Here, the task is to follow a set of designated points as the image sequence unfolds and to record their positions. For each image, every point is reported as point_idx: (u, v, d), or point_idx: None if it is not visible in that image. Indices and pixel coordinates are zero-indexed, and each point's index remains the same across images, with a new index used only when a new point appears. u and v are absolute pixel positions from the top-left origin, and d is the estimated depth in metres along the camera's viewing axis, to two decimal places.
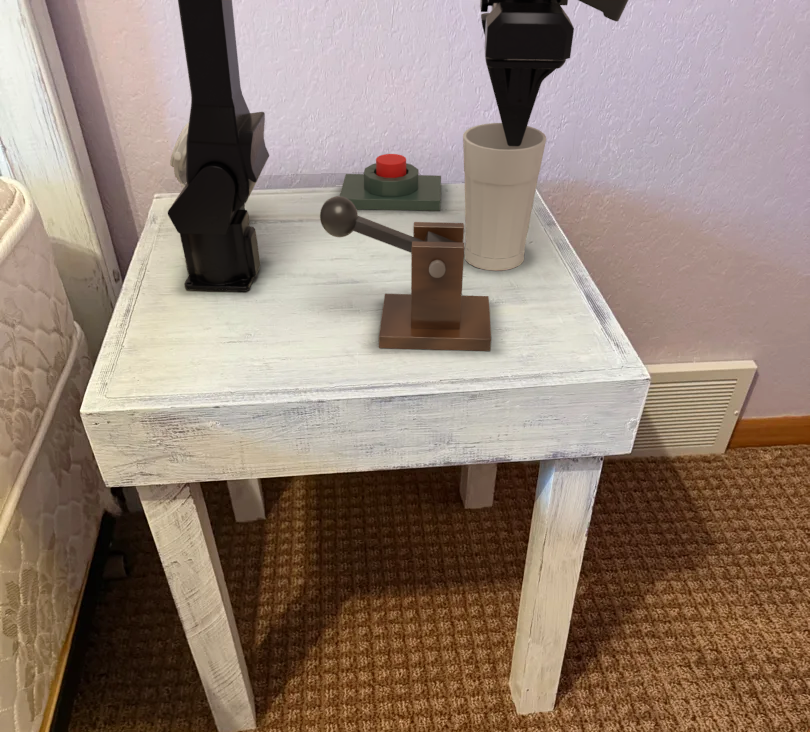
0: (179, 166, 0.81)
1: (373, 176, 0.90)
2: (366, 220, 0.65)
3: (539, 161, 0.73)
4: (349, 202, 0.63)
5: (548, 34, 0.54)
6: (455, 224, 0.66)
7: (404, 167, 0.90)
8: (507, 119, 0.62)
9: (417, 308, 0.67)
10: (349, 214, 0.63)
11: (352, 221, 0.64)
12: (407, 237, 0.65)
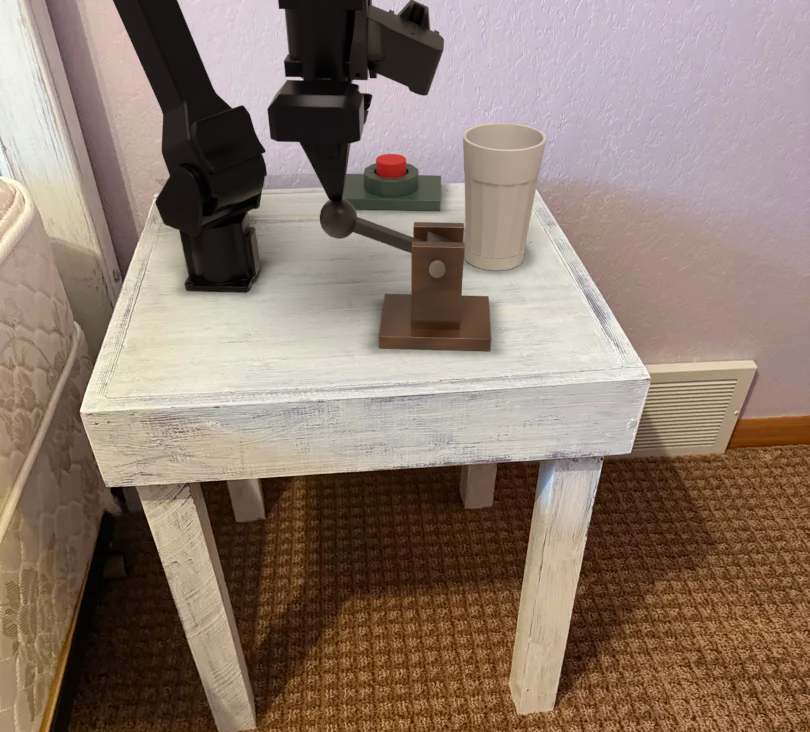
0: None
1: (373, 176, 0.90)
2: (366, 221, 0.65)
3: (539, 161, 0.73)
4: (348, 203, 0.63)
5: (331, 117, 0.50)
6: (455, 224, 0.66)
7: (404, 167, 0.90)
8: (323, 175, 0.61)
9: (417, 308, 0.67)
10: (348, 215, 0.63)
11: (352, 222, 0.64)
12: (407, 237, 0.65)
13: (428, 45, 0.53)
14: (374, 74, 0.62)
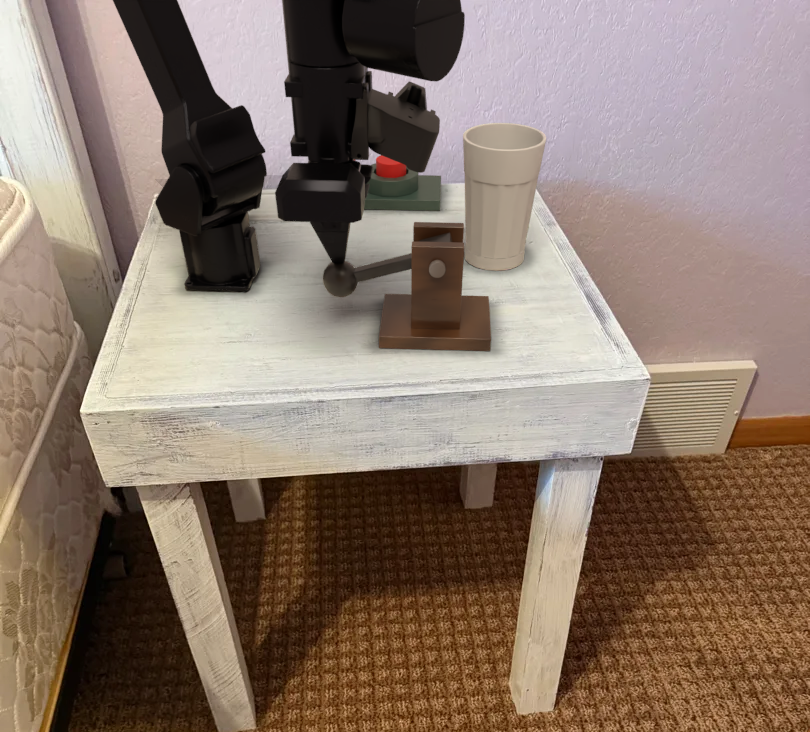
0: None
1: (373, 176, 0.90)
2: (363, 266, 0.68)
3: (539, 161, 0.73)
4: None
5: (334, 200, 0.54)
6: (455, 224, 0.66)
7: (404, 167, 0.90)
8: (326, 241, 0.65)
9: (417, 308, 0.67)
10: (343, 272, 0.67)
11: (350, 275, 0.67)
12: (403, 258, 0.67)
13: (425, 129, 0.57)
14: None
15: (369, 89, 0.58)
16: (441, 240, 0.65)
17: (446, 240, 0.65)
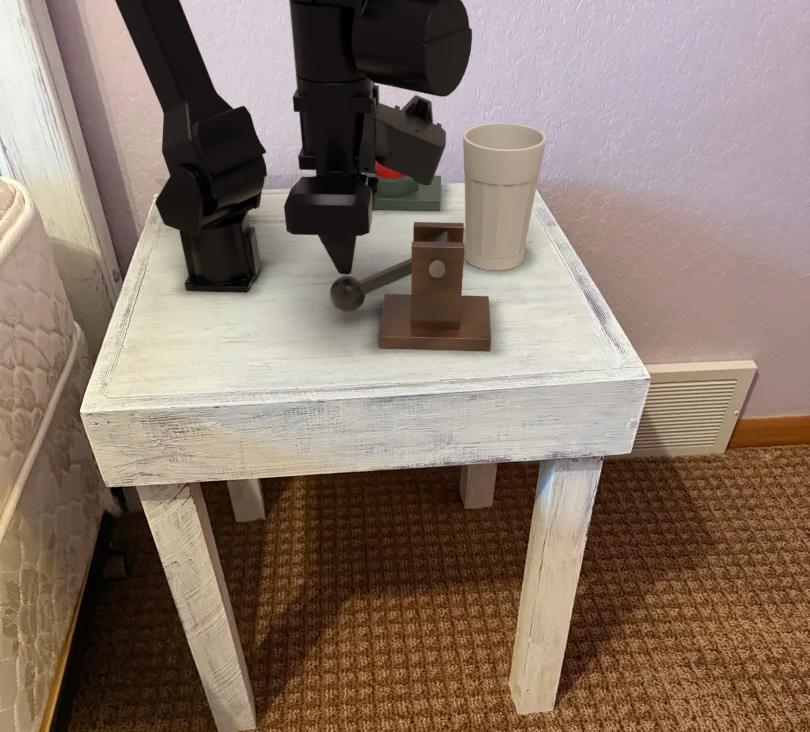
0: None
1: (373, 176, 0.90)
2: (367, 278, 0.68)
3: (539, 161, 0.73)
4: (343, 278, 0.68)
5: (343, 214, 0.55)
6: (455, 224, 0.66)
7: None
8: (333, 253, 0.65)
9: (417, 308, 0.67)
10: (348, 287, 0.68)
11: (355, 289, 0.68)
12: (404, 263, 0.67)
13: (431, 142, 0.58)
14: None
15: (376, 103, 0.59)
16: (438, 240, 0.65)
17: (443, 239, 0.65)
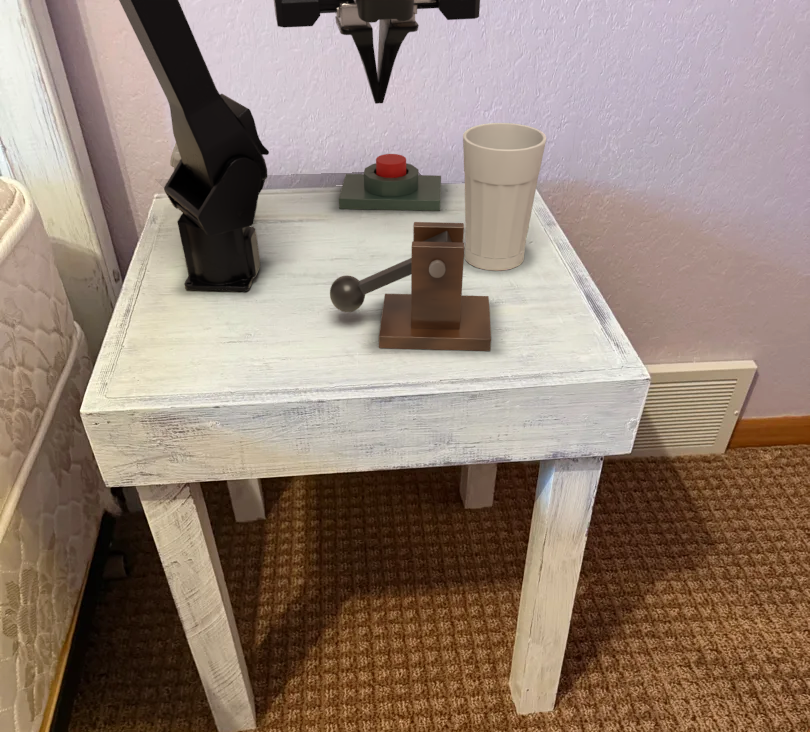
0: None
1: (373, 176, 0.90)
2: (367, 278, 0.68)
3: (539, 161, 0.73)
4: (343, 278, 0.68)
5: None
6: (455, 224, 0.66)
7: (404, 167, 0.90)
8: (366, 75, 0.76)
9: (417, 308, 0.67)
10: (348, 287, 0.68)
11: (355, 289, 0.68)
12: (404, 263, 0.67)
13: None
14: (443, 14, 0.70)
15: None
16: (438, 240, 0.65)
17: (443, 239, 0.65)
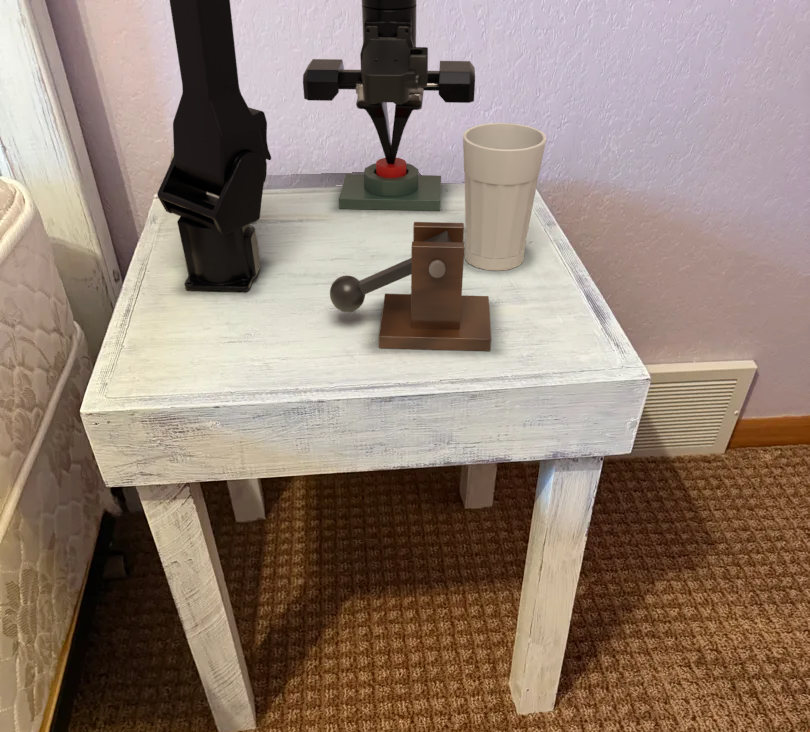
0: None
1: (373, 176, 0.90)
2: (367, 278, 0.68)
3: (539, 161, 0.73)
4: (343, 278, 0.68)
5: None
6: (455, 224, 0.66)
7: (404, 170, 0.90)
8: None
9: (417, 308, 0.67)
10: (348, 287, 0.68)
11: (355, 289, 0.68)
12: (404, 263, 0.67)
13: (363, 67, 0.77)
14: (442, 98, 0.83)
15: (396, 37, 0.79)
16: (438, 240, 0.65)
17: (443, 239, 0.65)
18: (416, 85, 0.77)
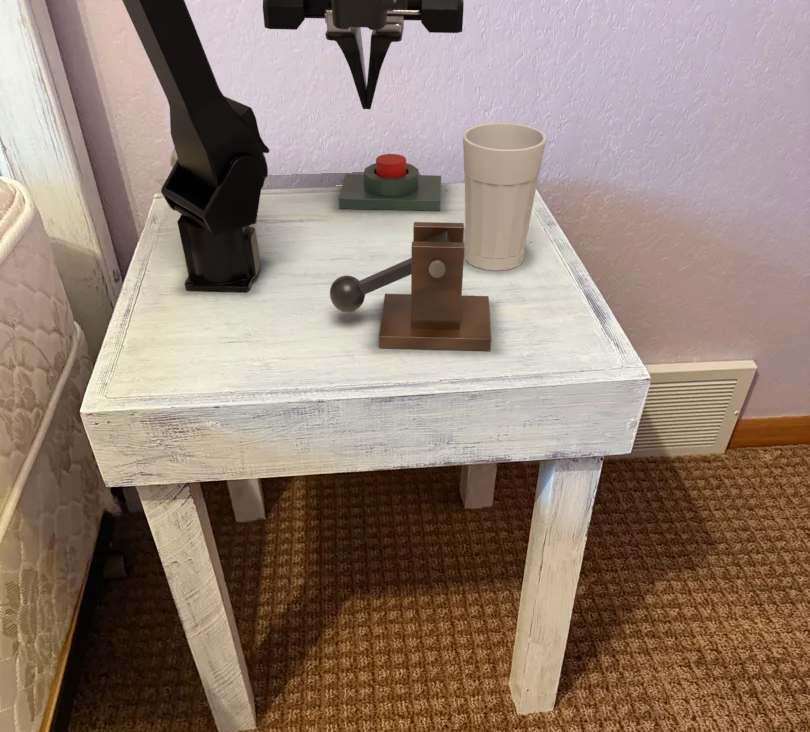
0: None
1: (373, 176, 0.90)
2: (367, 278, 0.68)
3: (539, 161, 0.73)
4: (343, 278, 0.68)
5: None
6: (455, 224, 0.66)
7: (404, 167, 0.90)
8: None
9: (417, 308, 0.67)
10: (348, 287, 0.68)
11: (355, 289, 0.68)
12: (404, 263, 0.67)
13: None
14: (425, 27, 0.71)
15: None
16: (438, 240, 0.65)
17: (443, 239, 0.65)
18: (394, 5, 0.66)
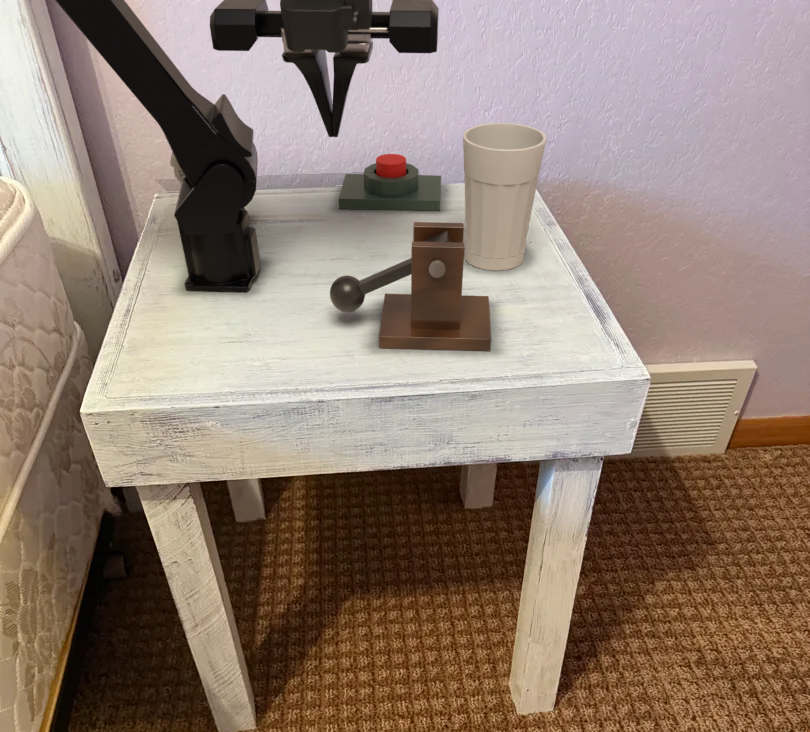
0: (179, 166, 0.81)
1: (373, 176, 0.90)
2: (367, 278, 0.68)
3: (539, 161, 0.73)
4: (343, 278, 0.68)
5: None
6: (455, 224, 0.66)
7: (404, 167, 0.90)
8: None
9: (417, 308, 0.67)
10: (348, 287, 0.68)
11: (355, 289, 0.68)
12: (404, 263, 0.67)
13: (282, 1, 0.57)
14: (394, 47, 0.62)
15: None
16: (438, 240, 0.65)
17: (443, 239, 0.65)
18: (355, 24, 0.57)
